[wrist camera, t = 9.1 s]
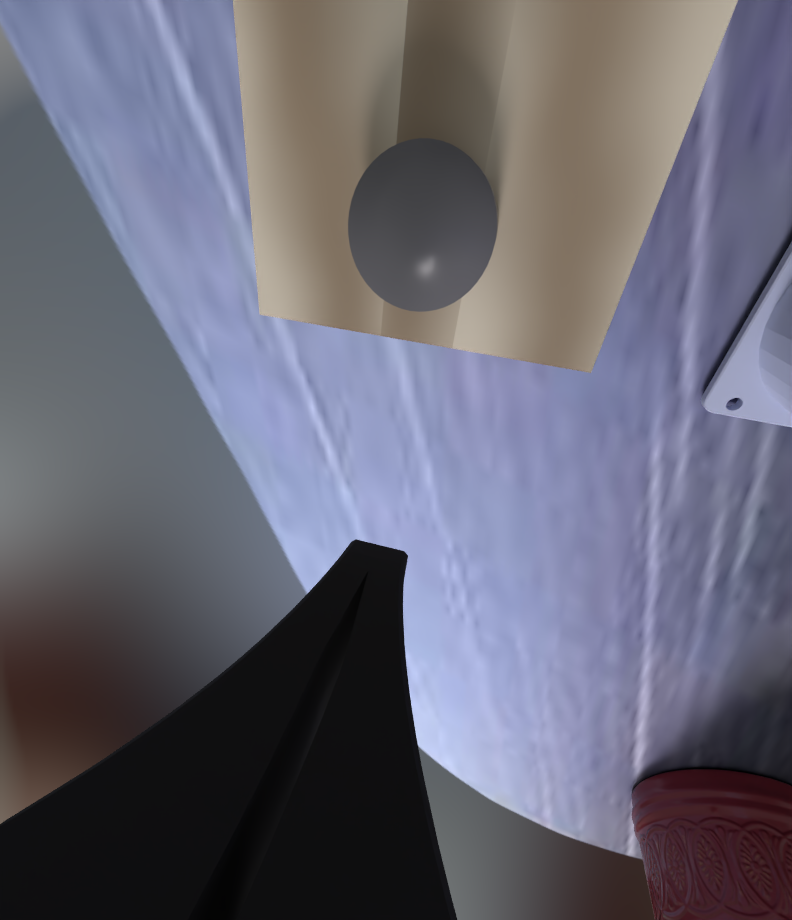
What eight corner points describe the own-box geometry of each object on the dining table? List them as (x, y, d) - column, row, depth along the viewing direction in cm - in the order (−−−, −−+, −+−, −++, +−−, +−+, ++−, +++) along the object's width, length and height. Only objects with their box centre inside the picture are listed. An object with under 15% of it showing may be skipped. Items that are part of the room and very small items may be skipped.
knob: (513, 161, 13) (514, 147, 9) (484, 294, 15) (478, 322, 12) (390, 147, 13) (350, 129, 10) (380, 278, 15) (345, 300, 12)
